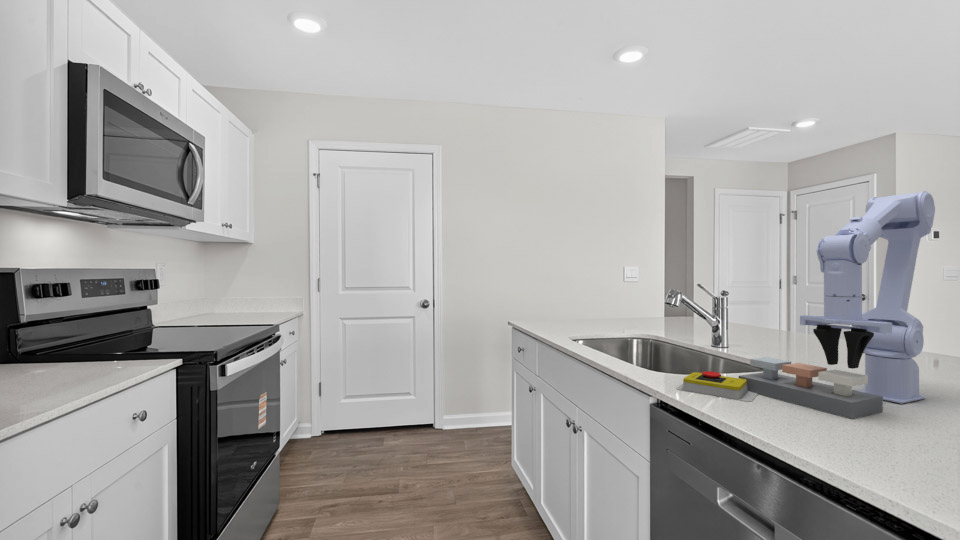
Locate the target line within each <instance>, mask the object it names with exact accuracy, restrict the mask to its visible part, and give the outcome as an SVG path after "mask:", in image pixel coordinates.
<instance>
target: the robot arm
mask: <svg viewBox="0 0 960 540" xmlns="http://www.w3.org/2000/svg"><path fill="white" fill-rule="evenodd" d="M935 213H936V205H935V200H934V197H933V195H932V194H931V193H930V192H928V191H927V190H921V191H920V192H910V193H904V194H895V195H889V196H888V195H887V196H876V197H875V196H873V197H871V198H870V199H869V200H868V201H867V202H866V205H865V213H864V215H863V216H852V217H851V219H850V220H849V222H848V223H846V224H845V225H844V226H842V227H841V228H840V229H839V230H838V231H837V232H835V234H834V235H826V236H825V237H824V238H821V239H820V240H819V241H818V245H817V249H816V255H817V258H818V261H819V265H820V266H819V268H820V269H819V270H820V272H821V273H823V316H822V315H809V314H807V315H806V314H804V315H803V314H802V315H799V325H800V326H814V327H816V328H813V329H812V331H813V332H812V333H813V334H814V335H815V336H816V338H817V340H818V342H819V343H820V345H821V347H822V350H823V354H824V355H825V359H826V364H827V365H829V366H834V365H838V364H839V344H840V338H841V333H842V329H843V330H846V331H843V336H844V340H845V343H846V344H845V345H846V352H847V354H846V355H847V357H846V359H847V362H846V363H847V368H848V369H852V370H853V369H859V366H860V362H861V359H862V356H863V354H864V367H865V368H864V375H868V383H867V384H864V386H865V387H864V389H862V390H859V391H860V392H865V393H869V394H874V395H879V396H883V401H887V402H893V403H896V404H907V403H910V402H915V401H920V400H925V399H926V395H921V394H920V367H919V365H918V363H917V361H915V360H914V358H916V357H917V356H918V355H920V354H921V353H922V350H923V347H924V343H925V341H924V325H923V324H922V322H921V320H920V319H919V318H917V317H916V316H914V315H913V314H911V313H910V312H908V309H909V302H910V296H911V291H912V285H913V281H914V276H915V275H914V274H915V269H916V263H917V257H918V253H919V247H920V244H921V238H923V237H925V236H928V235H929V234H931V231H932V228H933V225H934V220H935ZM880 238H881V239H884V240H887V242H888V244H887V249H886V253H885V259H884V265H883V270H882V275H881V280H880V286H879V291H878V297H877V301H876V306H875V307H874V308H873V309H870V310H868V311H866V312H864V313H863V264H865V263H867V260H868V258H869V254H870V251H871V249H872V245H873V244H874V243H875V242H876V241H877V240H878V239H880Z"/></svg>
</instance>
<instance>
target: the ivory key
mask: <svg viewBox="0 0 960 540" xmlns="http://www.w3.org/2000/svg"><path fill="white" fill-rule="evenodd" d="M817 378H818V381H824V382H827V383H833V386H834V394H838V395H842V396H852V390H853V387H856V386H861V385H865V384H867V383H868V375H865V374H862V373H856V372H850V371H845V370H839V369H830V370H829V369H828V370H827V371H822V372H818V377H817Z"/></svg>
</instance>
